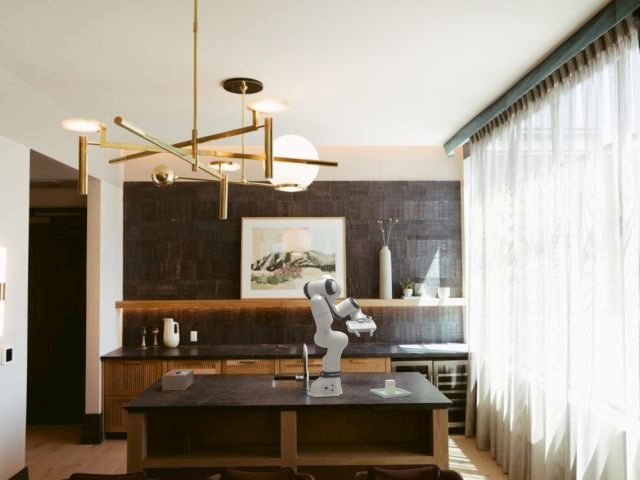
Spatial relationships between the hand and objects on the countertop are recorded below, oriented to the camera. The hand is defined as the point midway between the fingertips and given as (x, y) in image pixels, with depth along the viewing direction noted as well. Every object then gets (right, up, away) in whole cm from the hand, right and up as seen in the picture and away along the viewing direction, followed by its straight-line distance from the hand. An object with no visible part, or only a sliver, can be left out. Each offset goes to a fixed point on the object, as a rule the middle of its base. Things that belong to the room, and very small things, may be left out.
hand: (365, 335), depth 396 cm
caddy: (+13, -31, -28) cm, 44 cm away
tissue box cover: (-125, -35, +2) cm, 130 cm away
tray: (+13, -32, -28) cm, 45 cm away
